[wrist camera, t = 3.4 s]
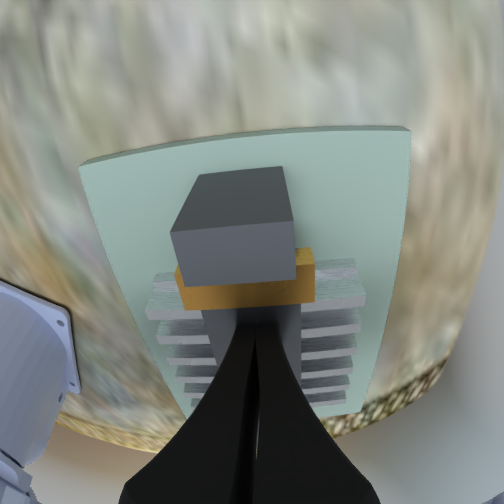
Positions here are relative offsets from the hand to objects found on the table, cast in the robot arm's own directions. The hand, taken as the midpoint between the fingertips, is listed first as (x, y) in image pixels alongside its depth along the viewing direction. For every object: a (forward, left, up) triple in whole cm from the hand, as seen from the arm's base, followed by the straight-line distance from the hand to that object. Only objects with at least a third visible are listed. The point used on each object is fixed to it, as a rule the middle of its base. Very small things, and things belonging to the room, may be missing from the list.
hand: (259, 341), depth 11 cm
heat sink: (-2, -1, -3) cm, 4 cm away
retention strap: (-3, -1, -1) cm, 3 cm away
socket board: (-2, -1, -3) cm, 4 cm away
